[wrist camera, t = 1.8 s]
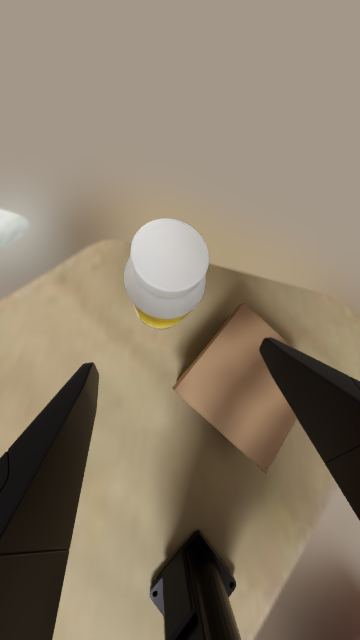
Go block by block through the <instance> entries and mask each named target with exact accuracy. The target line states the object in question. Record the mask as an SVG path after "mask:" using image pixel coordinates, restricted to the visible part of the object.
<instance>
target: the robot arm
mask: <svg viewBox="0 0 360 640" xmlns="http://www.w3.org/2000/svg"><path fill="white" fill-rule="evenodd" d="M259 351H260V354H261V356H262V358H263V360H264V362H265V364H266V366H267V368H268V370H269V372H270V374H271V376H272V378H273V379H274V381H275V383H276V384H277V386H278V388H279V389H280V391H281V393H282V394H283V396H284V397H285V399H286V401H287V402H288V404H289V406H290V407H291V409H292V411H293V412H294V414H295V415H296V417H297V419H298V420H299V422H300V424H301V425H302V427H303V429H304V430H305V432H306V433H307V435H308V437H309V438H310V440H311V442H312V443H313V445H314V447H315V448H316V450H317V451H318V453H319V455H320V456H321V458H322V460H323V461H324V463H325V465H326V466H327V468H328V470H329V471H330V473H331V475H332V476H333V478H334V479H335V481H336V483H337V484H338V486H339V488H340V489H341V491H342V493H343V494H344V496H345V497H346V499H347V501H348V502H349V504H350V506H351V507H352V509H353V511H354V512H355V514H356V515H357V517H358V519H359V520H360V381H358V380H356V379H354V378H352V377H349V376H348V375H346V374H344V373H342V372H340V371H338V370H336V369H334V368H332V367H330V366H328V365H326V364H324V363H322V362H320V361H318V360H316V359H314V358H312V357H310V356H308V355H306V354H304V353H302V352H300V351H298V350H296V349H294V348H292V347H290V346H288V345H286V344H284V343H282V342H280V341H278V340H276V339H274V338H272V337H268V338H264V339H263V341H262V343H261V345H260V347H259ZM98 383H99V373H98V371H97V369H96V366H95V364H94V363H93V362H91V363H85V364H83V365H82V366H81V367H80V368H79V369H78V370H77V372H76V373H75V374H74V375H73V376H72V377H71V378H70V379H69V381H68V382H67V383H66V384H65V385H64V386H63V387H62V389H61V390H60V391H59V392H58V393H57V394H56V395H55V397H54V398H53V399H52V400H51V401H50V402H49V403H48V405H47V406H46V407H45V408H44V409H43V410H42V411H41V412H40V414H39V415H38V416H37V417H36V418H35V419H34V420H33V422H32V423H31V424H30V425H29V426H28V427H27V428H26V430H25V431H24V432H23V433H22V434H21V435H20V436H19V437H18V439H17V440H16V441H15V442H14V443H13V444H12V445H11V447H10V448H9V449H8V451H7V452H5V453H4V454H3V456H2V457H1V458H0V640H52V638H53V633H54V628H55V622H56V617H57V612H58V607H59V602H60V597H61V591H62V586H63V581H64V576H65V571H66V566H67V560H68V555H69V548H70V544H71V539H72V534H73V529H74V524H75V518H76V513H77V508H78V503H79V498H80V493H81V487H82V482H83V477H84V472H85V467H86V462H87V456H88V451H89V446H90V441H91V436H92V431H93V425H94V420H95V415H96V408H97V396H98ZM197 538H199V539H197ZM235 587H236V581H235V578H234V576H233V574H232V573H231V572H230V570H229V569H228V568H227V566H226V565H225V564H224V562H223V561H222V560H221V558H220V557H219V556H218V554H217V553H216V552H215V550H214V549H213V548H212V546H211V545H210V544H209V542H208V541H207V540H206V538H205V537H204V536H203V534H202V533H201V532H200V531H196V532H195V533H194V534H193V535H192V536H191V537H190V539H189V540H188V541H187V542H186V543H185V545H184V546H183V547H182V548H181V549H180V551H179V552H178V553H177V554H176V555H175V557H174V558H173V559H172V560H171V561H170V563H169V564H168V565H167V566H166V567H165V569H164V570H163V571H162V572H161V573H160V575H159V576H158V577H157V578H156V579H155V581H154V582H153V583H152V584H151V587H150V598H151V600H152V601H153V602H154V604H155V605H156V606H157V608H158V609H159V611H160V612H161V613H162V615H163V616H164V634H165V640H241V637H240V634H239V630H238V627H237V624H236V621H235V617H234V614H233V611H232V608H231V604H230V601H229V596H230V595H231V593H232V592H233V591H234V589H235ZM155 590H156V591H155Z"/></svg>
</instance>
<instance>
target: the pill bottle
mask: <svg viewBox="0 0 360 640" xmlns="http://www.w3.org/2000/svg"><path fill="white" fill-rule="evenodd" d="M208 266H209V251H208V248H207V245H206V243H205V241H204V239H203V237H202V236H201V235H200V233H198V231H197V230H195V229H194V228H193V227H192V226H190V225H188V224H187V223H185V222H182V221H180V220H176V219H170V218H163V219H156V220H153V221H151V222H149V223H147V224H145V225H144V226H143V227H141V228H140V229H139V230H138V232H137V233H136V235H135V236H134V238H133V241H132V244H131V256H130V258H129V259H128V261H127V264H126V267H125V271H124V283H125V287H126V291H127V293H128V295H129V298H130V300H131V302H132V304H133V306H134V308H135V311H136V313H137V315H138V317H139V318H140V320H141V321H142V322H143V323H145V324H146V325H148V326H150V327H152V328H155V329H167V328H170V327H173V326H175V325H176V324H178V323H179V322H180V321H181V320H182V319H183V318H184V317H185V316H186V315H188V314H189V313H190V312H191V311H192V310H193V309H194V308H195V307H196V306H197V304H198V303H199V302H200V300H201V298H202V297H203V294H204V291H205V286H206V275H205V274H206V272H207V269H208Z"/></svg>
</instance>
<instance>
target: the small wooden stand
mask: <svg viewBox="0 0 360 640" xmlns="http://www.w3.org/2000/svg"><path fill="white" fill-rule="evenodd" d="M268 337H272V338H274V339H276V340H278V341H280V342H282V343H284V344H286V345H288V346H290V347H292V346H291V345H289V344H288V343H287V342H286V341H285V340H284V339H283V338H282V337H281V336H280V335H279V334H278V333H277V332H275V331H274V330H273V329H272V328H271V327H270V326H269V325H268V324H267V323H266V322H265V321H264V320H262V319H261V318H260V317H259V316H258V315H257V314H256V313H255V312H254V311H253V310H252V309H251V308H249V307H248V306H247V305H246V304H245V303H243V304H241V305H239V306H238V307H237V308H236V310H235V311H234V312H233V313H232V315H231V316H229V317H228V318H227V320H226V321H225V322H224V323H223V324H222V327H221V328H220V329H219V331H218V332H217V333H216V334H215V336H214V337H213V338H212V339H211V341H210V342H209V343H208V344H207V345H206V347H205V348H204V349H203V350H202V352H201V353H200V354H199V355H198V357H197V358H196V359H195V360H194V362H193V363H192V364H191V365H190V366H189V368H188V369H187V370H186V371H184V373H183V374H182V375H181V376H180V377H179V379H178V380H177V383H176V384H175V385H174V386H173V390H174V391H175V392H176V393H177V394H178V395H179V396H180V397H182V398H183V399H184V400H185V401H186V402H187V403H188V404H189V405H190V406H192V407H193V408H194V409H195V410H196V411H197V412H198V413H199V414H200V415H202V416H203V417H204V418H205V419H206V420H207V421H208V422H209V423H210V424H212V425H213V426H214V427H215V428H216V429H217V430H218V431H219V432H220V433H222V434H223V435H224V436H225V437H226V438H227V439H228V440H229V441H230V442H232V443H233V444H234V445H235V446H236V447H237V448H238V449H239V450H240V451H242V452H243V453H244V454H245V455H246V456H247V457H248V458H249V459H250V460H252V461H253V462H254V463H255V464H256V465H257V466H258V467H259V468H260V469H262V470H263V471H264V472H265V473H266V472H267V471H268V469H269V467H270V465H271V463H272V462H273V460H274V458H275V456H276V455H277V453H278V451H279V449H280V447H281V446H282V444H283V442H284V440H285V438H286V437H287V435H288V433H289V431H290V430H291V428H292V426H293V424H294V422H295V421H296V419H297V417H296V415H295V414H294V412H293V411H292V409H291V407H290V406H289V404H288V402H287V401H286V399H285V397H284V396H283V394H282V393H281V391H280V389H279V388H278V386H277V384H276V383H275V381H274V379H273V378H272V376H271V374H270V372H269V370H268V368H267V366H266V364H265V362H264V360H263V358H262V356H261V354H260V351H259V347H260V345H261V343H262V341H263V339H264V338H268ZM292 348H293V347H292Z"/></svg>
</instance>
